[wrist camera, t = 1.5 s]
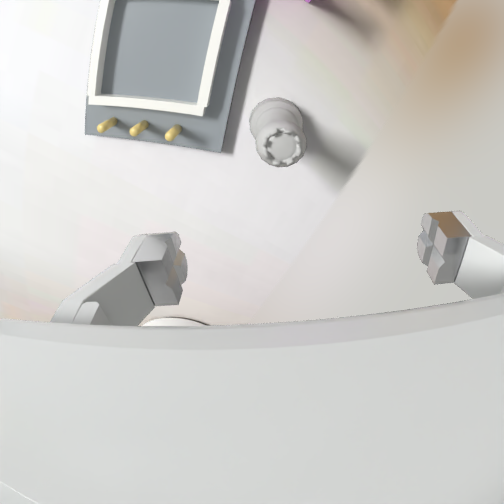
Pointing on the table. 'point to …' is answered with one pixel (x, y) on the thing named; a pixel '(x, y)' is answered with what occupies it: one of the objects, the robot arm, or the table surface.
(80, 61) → the table surface
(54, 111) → the table surface
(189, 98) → the board
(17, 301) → the table surface
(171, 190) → the table surface
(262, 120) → the rook chess piece
